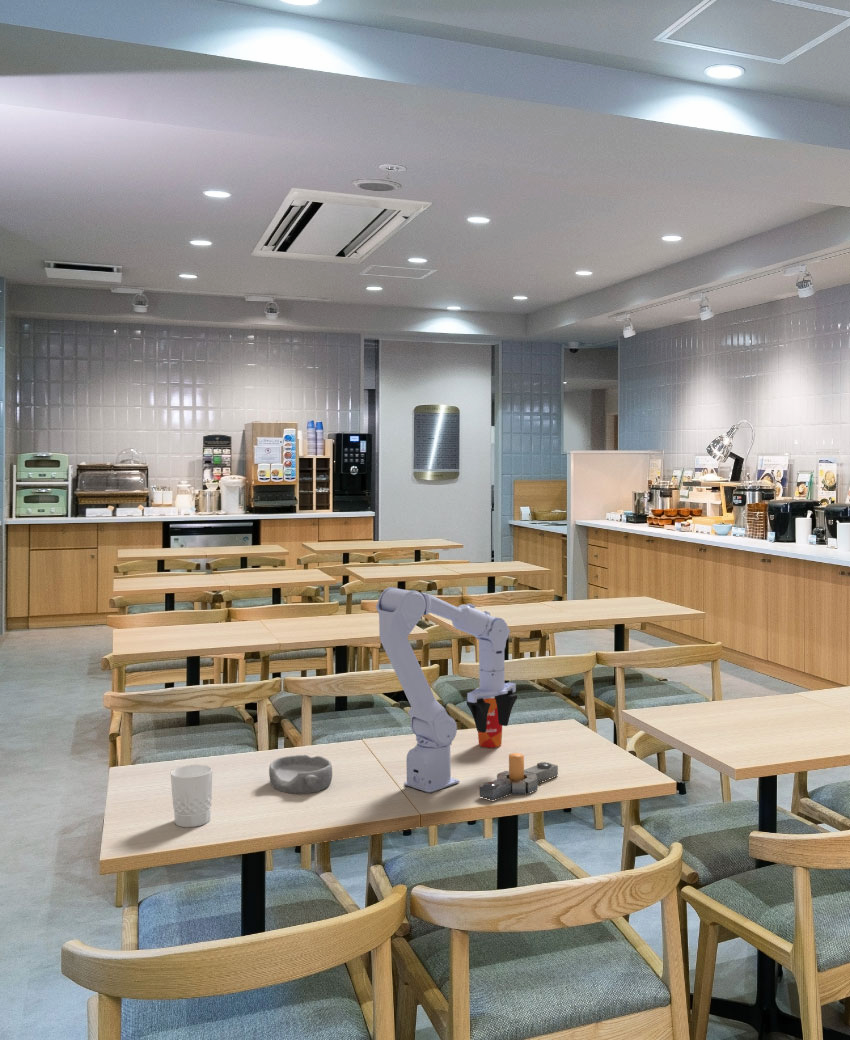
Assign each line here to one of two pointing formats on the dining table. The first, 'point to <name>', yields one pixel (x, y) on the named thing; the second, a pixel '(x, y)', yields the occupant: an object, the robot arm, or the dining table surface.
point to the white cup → (191, 794)
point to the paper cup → (491, 727)
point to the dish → (300, 774)
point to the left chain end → (501, 789)
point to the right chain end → (532, 775)
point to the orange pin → (516, 766)
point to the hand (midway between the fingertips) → (492, 728)
